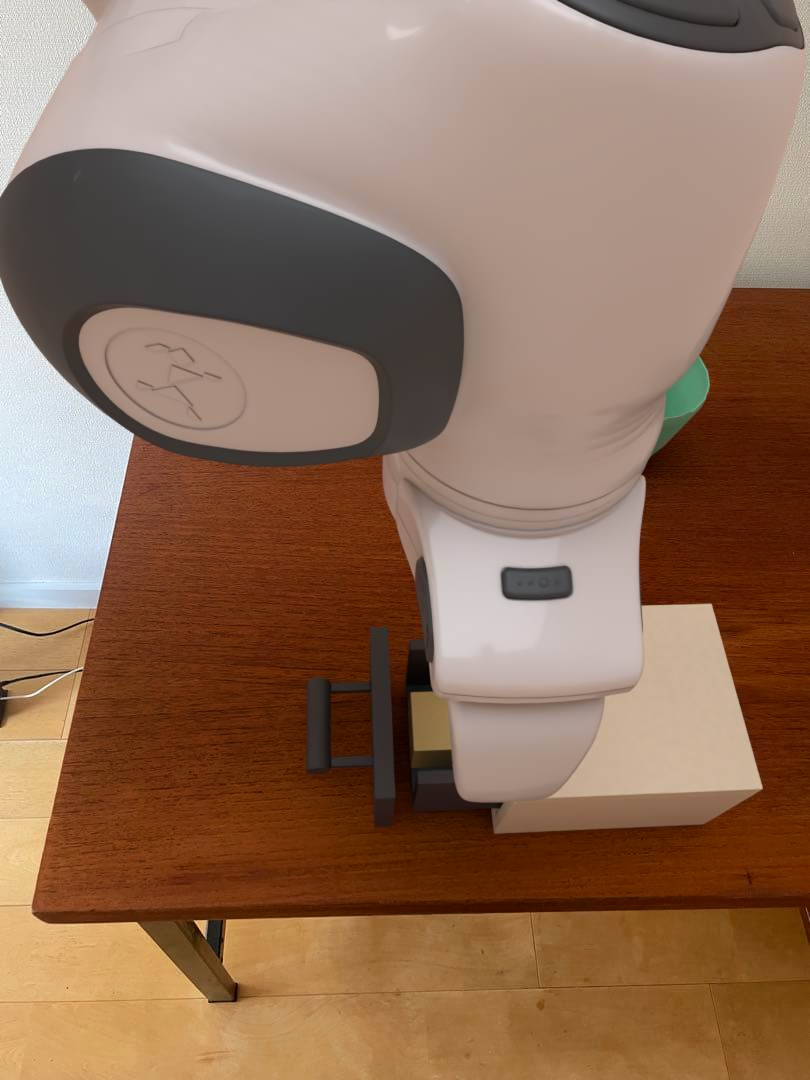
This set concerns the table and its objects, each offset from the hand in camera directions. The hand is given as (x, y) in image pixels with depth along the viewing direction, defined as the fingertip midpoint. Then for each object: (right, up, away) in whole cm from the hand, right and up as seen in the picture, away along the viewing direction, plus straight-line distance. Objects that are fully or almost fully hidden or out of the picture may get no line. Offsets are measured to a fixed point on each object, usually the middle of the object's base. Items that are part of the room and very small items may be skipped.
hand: (466, 621), depth 40 cm
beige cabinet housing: (+10, -11, +19) cm, 24 cm away
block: (-1, -10, +16) cm, 19 cm away
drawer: (-1, -10, +17) cm, 20 cm away
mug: (+14, +12, +33) cm, 38 cm away
